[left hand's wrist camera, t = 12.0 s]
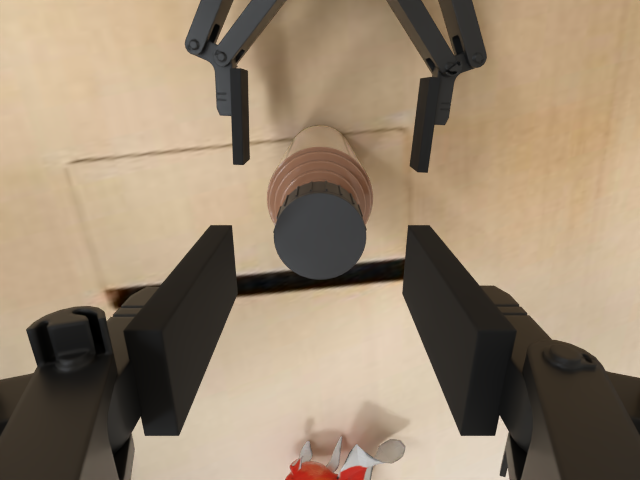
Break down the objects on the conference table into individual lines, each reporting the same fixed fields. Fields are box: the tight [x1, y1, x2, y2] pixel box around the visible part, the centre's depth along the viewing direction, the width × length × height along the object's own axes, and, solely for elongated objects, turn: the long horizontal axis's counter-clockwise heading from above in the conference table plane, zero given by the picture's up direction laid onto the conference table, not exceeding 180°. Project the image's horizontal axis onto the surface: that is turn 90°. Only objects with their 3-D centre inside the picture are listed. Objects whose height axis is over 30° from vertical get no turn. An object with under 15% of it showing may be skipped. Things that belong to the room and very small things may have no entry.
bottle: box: [267, 125, 373, 225], centre depth 27 cm, size 6×6×21 cm
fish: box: [285, 436, 405, 480], centre depth 45 cm, size 11×16×10 cm
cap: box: [273, 181, 366, 279], centre depth 17 cm, size 4×4×2 cm
